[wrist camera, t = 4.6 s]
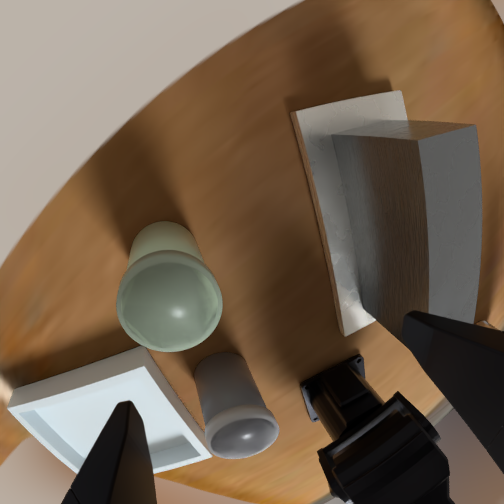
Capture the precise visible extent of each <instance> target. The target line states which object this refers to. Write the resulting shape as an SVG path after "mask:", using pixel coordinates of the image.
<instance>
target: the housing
mask: <svg viewBox="0 0 504 504" xmlns="http://www.w3.org/2000/svg"><path fill="white" fill-rule="evenodd" d="M290 116H291V120H292V123H293V127H294V130H295V134H296V138H297V141H298V145H299V149H300V152H301V156H302V160H303V164H304V168H305V171H306V175H307V179H308V183H309V187H310V191H311V196H312V200H313V204H314V208H315V212H316V217H317V221H318V225H319V230H320V234H321V239H322V243H323V248H324V253H325V258H326V262H327V267H328V272H329V277H330V282H331V287H332V292H333V298H334V303H335V309H336V314H337V320H338V325H339V331H340V332H341V333H342V334H343V335H344V336H345V337H346V336H348V335H350V334H352V333H354V332H356V331H357V330H359V329H361V328H363V327H365V326H367V325H369V324H370V323H372V322H374V321H376V320H377V321H378V322H379V323H380V324H381V325H382V326H383V327H384V328H386V329H387V330H388V331H389V332H390V333H391V334H392V335H394V336H395V337H396V338H397V339H398V340H399V341H400V342H401V343H403V344H404V345H405V346H406V347H407V348H408V349H409V347H408V346H407V345H406V343H405V342H404V340H403V338H402V325H403V318H404V315H405V314H406V313H408V312H411V311H413V310H417V311H421V312H425V313H429V314H433V315H438V316H442V317H446V318H450V319H454V320H458V321H462V322H467V323H471V324H474V317H475V310H476V303H477V295H478V286H479V276H480V263H481V246H482V185H481V168H480V156H479V146H478V137H477V129H476V125H472V124H462V123H449V122H434V121H412V120H407V115H406V110H405V106H404V101H403V97H402V92H401V90H398V91H389V92H383V93H377V94H372V95H366V96H361V97H356V98H351V99H346V100H341V101H336V102H332V103H327V104H323V105H318V106H314V107H310V108H306V109H302V110H298V111H294V112H290ZM409 350H410V349H409ZM410 351H411V350H410Z"/></svg>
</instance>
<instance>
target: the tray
mask: <svg viewBox="0 0 504 504" xmlns="http://www.w3.org/2000/svg"><path fill="white" fill-rule="evenodd" d="M128 400H130V401H132V402H133V403H134V405H135V407H136V409H137V410H138V412H139V414H140V415H141V417H142V420H143V423H144V427H145V433H146V438H147V443H148V448H149V452H150V457H151V461H152V466H153V474H154V473H158V472H162V471H166V470H170V469H174V468H177V467H181V466H184V465H188V464H191V463H195V462H198V461H201V460H204V459H208V458H211V457H213V456H212V452H211V451H210V450H209V448H208V446H207V442H206V438H205V433H204V432H203V431H202V429H201V428H200V427H199V425H198V424H197V423H196V421H195V420H194V418H193V417H192V416H191V414H190V413H189V412H188V410H187V409H186V407H185V406H184V405H183V403H182V402H181V400H180V399H179V398H178V396H177V395H176V393H175V392H174V390H173V389H172V387H171V386H170V384H169V383H168V381H167V380H166V378H165V377H164V375H163V374H162V372H161V371H160V369H159V368H158V366H157V365H156V363H155V361H154V360H153V358H152V357H151V355H150V354H149V352H148V350H147V349H146V347H144V346H139V347H136V348H133V349H131V350H128V351H125V352H122V353H120V354H117V355H114V356H111V357H109V358H106V359H103V360H100V361H97V362H94V363H92V364H89V365H86V366H83V367H80V368H77V369H74V370H71V371H68V372H65V373H62V374H59V375H56V376H53V377H50V378H47V379H44V380H41V381H38V382H35V383H32V384H29V385H25V386H22V387H19V388H16V389H14V391H13V394H12V396H11V399H10V402H9V404H8V407H7V409H8V410H9V411H10V412H11V413H12V414H13V416H14V417H15V418H16V419H17V420H18V421H19V422H20V423H21V424H22V425H23V426H24V427H25V428H26V429H27V430H28V431H29V432H30V433H31V434H32V435H33V436H34V437H35V438H36V439H37V440H38V441H40V443H42V444H43V445H44V446H45V447H46V448H47V449H48V450H49V451H50V452H52V453H53V454H54V455H55V456H56V457H57V458H59V459H60V460H61V461H62V462H63V463H64V464H65V465H67V466H68V467H69V468H70V469H72V470H73V471H74V472H75V473H77V474H78V472H79V470H80V468H81V466H82V465H83V463H84V461H85V459H86V457H87V456H88V454H89V452H90V450H91V448H92V447H93V445H94V443H95V441H96V440H97V438H98V436H99V434H100V433H101V431H102V429H103V427H104V426H105V424H106V422H107V420H108V419H109V417H110V415H111V413H112V412H113V410H114V408H115V407H116V405H117V403H119V402H122V401H128Z"/></svg>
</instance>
